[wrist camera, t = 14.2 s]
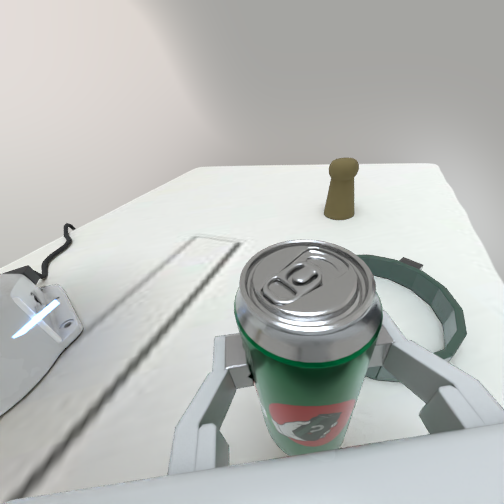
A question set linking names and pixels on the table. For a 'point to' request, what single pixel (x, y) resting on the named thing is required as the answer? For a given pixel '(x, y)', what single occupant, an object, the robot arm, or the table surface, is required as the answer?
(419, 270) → the dark green tabbed ring
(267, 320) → the soda can
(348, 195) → the cork
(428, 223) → the table surface
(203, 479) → the robot arm
